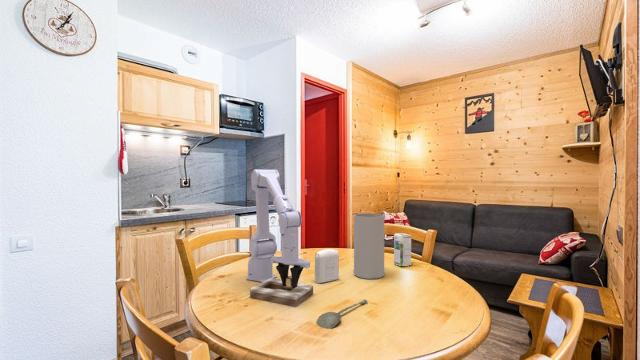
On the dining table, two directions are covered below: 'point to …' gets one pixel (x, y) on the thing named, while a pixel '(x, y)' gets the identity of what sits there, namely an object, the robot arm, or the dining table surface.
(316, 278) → the photo printer
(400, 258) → the drink can
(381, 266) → the cylinder vase
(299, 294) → the keyhole board
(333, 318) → the soupspoon
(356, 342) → the dining table surface
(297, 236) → the robot arm
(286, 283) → the brass key peg
